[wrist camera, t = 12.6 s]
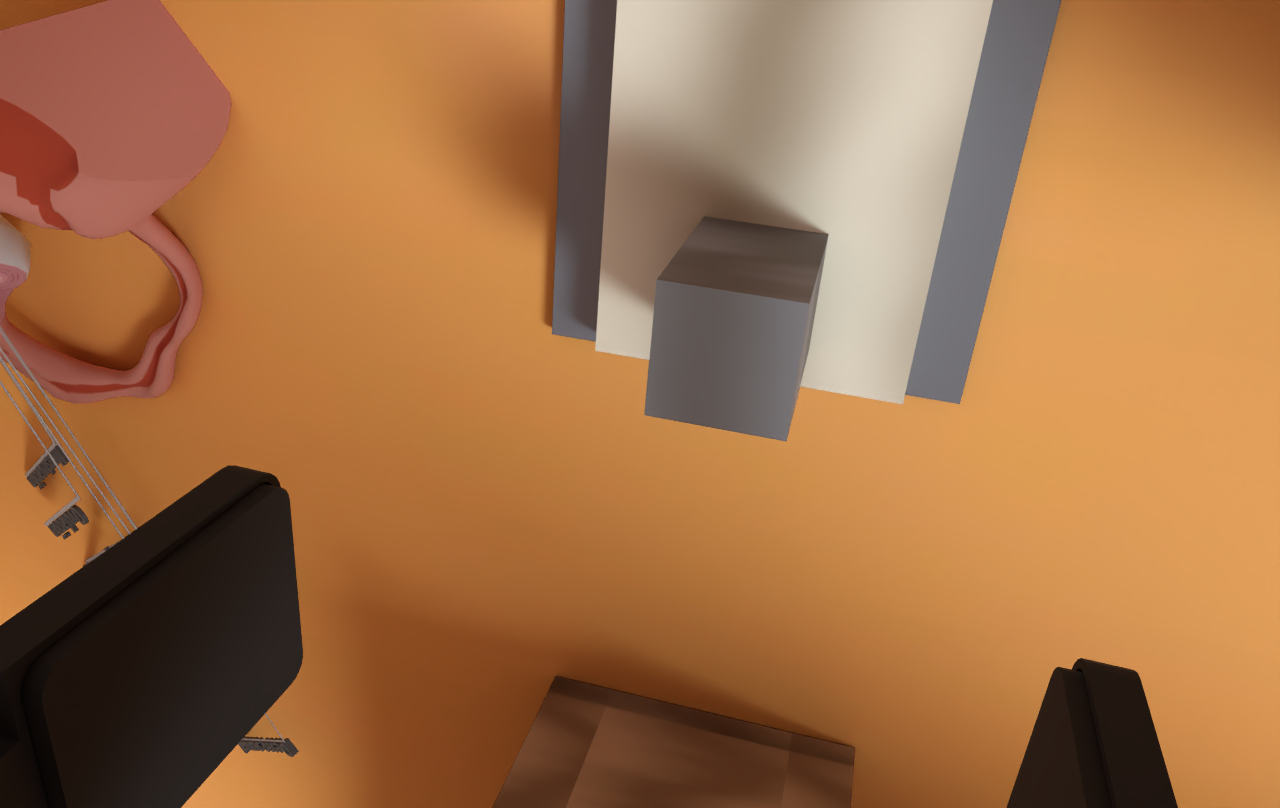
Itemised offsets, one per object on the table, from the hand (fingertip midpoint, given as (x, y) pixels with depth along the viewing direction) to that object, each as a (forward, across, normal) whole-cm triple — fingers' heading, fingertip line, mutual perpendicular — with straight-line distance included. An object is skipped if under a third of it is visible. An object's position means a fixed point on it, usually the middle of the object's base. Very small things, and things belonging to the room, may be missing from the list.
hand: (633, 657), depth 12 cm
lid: (+15, +1, -5) cm, 16 cm away
